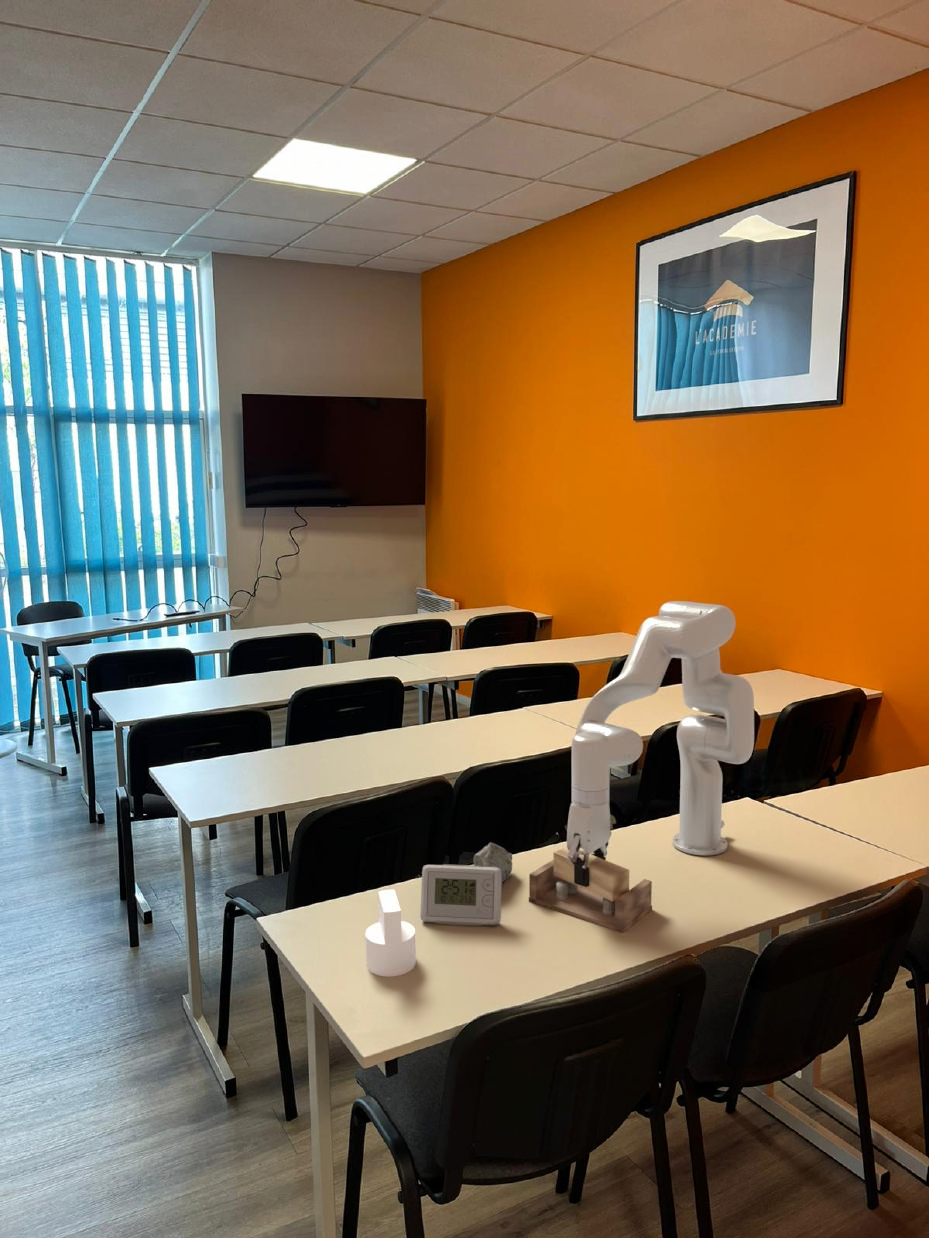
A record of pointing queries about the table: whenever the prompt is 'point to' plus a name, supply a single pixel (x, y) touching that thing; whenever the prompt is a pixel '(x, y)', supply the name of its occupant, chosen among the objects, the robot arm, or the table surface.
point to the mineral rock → (494, 859)
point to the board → (594, 875)
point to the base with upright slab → (390, 939)
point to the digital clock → (461, 895)
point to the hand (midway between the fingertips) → (589, 878)
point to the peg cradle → (589, 900)
